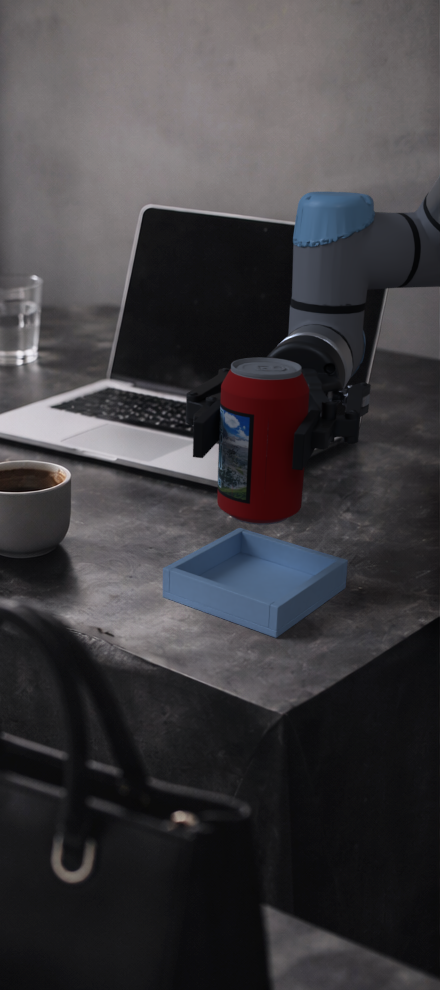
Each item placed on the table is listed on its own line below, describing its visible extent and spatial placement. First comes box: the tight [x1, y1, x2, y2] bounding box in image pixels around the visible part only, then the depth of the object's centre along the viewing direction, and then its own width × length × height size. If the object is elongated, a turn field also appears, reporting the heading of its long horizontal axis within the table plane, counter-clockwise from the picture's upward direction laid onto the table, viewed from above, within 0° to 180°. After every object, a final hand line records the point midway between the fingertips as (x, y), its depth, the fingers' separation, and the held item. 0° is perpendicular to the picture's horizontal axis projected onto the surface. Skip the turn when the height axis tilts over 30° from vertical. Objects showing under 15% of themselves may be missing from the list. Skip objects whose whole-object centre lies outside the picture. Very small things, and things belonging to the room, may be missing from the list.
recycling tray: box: [162, 527, 349, 639], centre depth 80 cm, size 11×11×3 cm
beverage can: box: [216, 357, 309, 526], centre depth 76 cm, size 7×7×12 cm
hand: (247, 445), depth 71 cm, fingers closed on beverage can, 7 cm apart
